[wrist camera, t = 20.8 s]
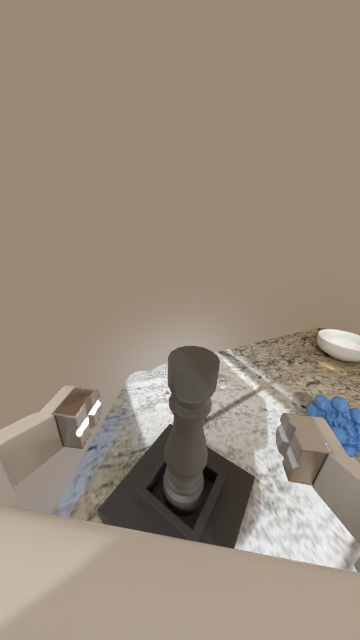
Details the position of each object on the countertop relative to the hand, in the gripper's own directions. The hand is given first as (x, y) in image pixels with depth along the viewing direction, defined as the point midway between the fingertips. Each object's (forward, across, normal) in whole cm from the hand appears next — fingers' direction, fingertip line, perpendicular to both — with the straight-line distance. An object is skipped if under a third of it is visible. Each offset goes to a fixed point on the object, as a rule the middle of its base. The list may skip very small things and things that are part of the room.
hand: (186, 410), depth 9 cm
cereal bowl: (+64, +53, -32) cm, 89 cm away
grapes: (+25, +29, -32) cm, 50 cm away
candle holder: (+12, 0, -31) cm, 33 cm away
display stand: (+12, 0, -32) cm, 34 cm away
